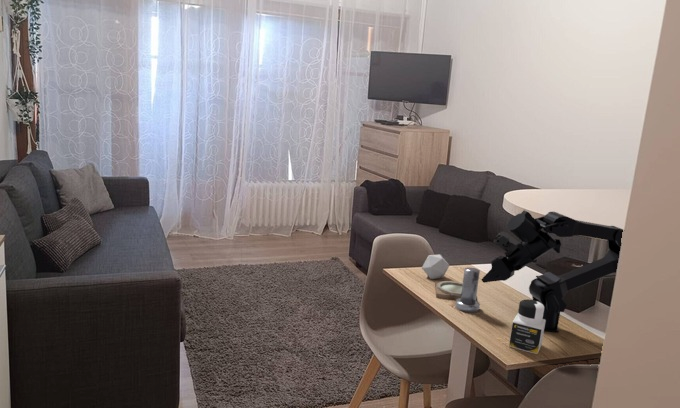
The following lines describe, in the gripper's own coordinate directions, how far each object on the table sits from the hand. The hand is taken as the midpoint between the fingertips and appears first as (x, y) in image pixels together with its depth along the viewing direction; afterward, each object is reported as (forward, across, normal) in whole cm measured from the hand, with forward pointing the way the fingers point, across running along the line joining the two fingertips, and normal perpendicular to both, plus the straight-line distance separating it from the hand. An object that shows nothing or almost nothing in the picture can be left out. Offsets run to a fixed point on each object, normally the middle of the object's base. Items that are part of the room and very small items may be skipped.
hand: (488, 277), depth 161 cm
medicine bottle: (-3, +13, +20) cm, 24 cm away
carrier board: (+17, -10, -2) cm, 20 cm away
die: (+26, -20, -10) cm, 34 cm away
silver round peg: (+12, 0, +4) cm, 12 cm away
